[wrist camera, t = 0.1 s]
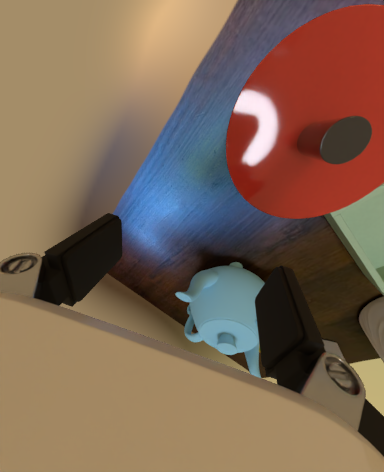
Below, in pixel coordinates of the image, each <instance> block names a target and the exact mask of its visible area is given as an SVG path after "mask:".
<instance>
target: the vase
mask: <svg viewBox="0 0 384 472" xmlns="http://www.w3.org/2000/svg"><path fill="white" fill-rule="evenodd" d="M359 322H360V325H361V327H362V329H363V330H364V332H365V334H366V335H367V337H368V339H369V340H370V342H371V344H372V345H373V347H374V348H375V350H376V351H377V353H378V355H379V356H380V358H381V359H382V360H383V362H384V296H382V297H380V298H377V299H375V300H374V301H372V302H370V303H369V304H368V305H366V306H365V307H364V308H363V310H362V311H361V313H360V315H359Z"/></svg>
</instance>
